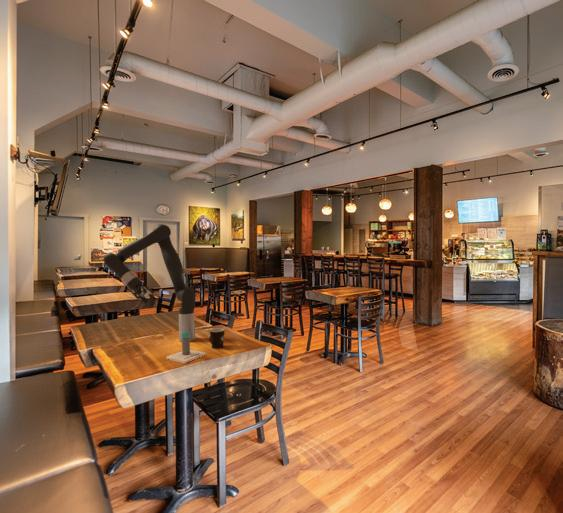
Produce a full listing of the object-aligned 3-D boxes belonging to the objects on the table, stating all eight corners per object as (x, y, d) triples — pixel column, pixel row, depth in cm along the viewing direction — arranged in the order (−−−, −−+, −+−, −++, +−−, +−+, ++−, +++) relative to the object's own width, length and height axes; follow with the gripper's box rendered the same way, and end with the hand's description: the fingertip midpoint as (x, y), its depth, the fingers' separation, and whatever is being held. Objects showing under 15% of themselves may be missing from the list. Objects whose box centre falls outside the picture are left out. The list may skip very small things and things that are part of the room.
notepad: (187, 351, 184) (187, 348, 184) (206, 355, 176) (206, 352, 176) (166, 359, 171) (166, 356, 171) (184, 363, 164) (184, 361, 164)
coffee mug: (219, 344, 197) (219, 327, 197) (227, 347, 191) (227, 330, 190) (202, 348, 189) (202, 331, 188) (210, 351, 183) (210, 333, 182)
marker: (186, 352, 178) (185, 330, 178) (191, 353, 176) (191, 331, 175) (180, 354, 174) (179, 332, 174) (185, 355, 172) (185, 333, 172)
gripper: (128, 277, 174) (149, 299, 173) (143, 275, 188) (162, 295, 187) (119, 287, 175) (140, 308, 174) (134, 284, 189) (153, 304, 188)
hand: (151, 301), depth 181 cm, fingers open, 8 cm apart
